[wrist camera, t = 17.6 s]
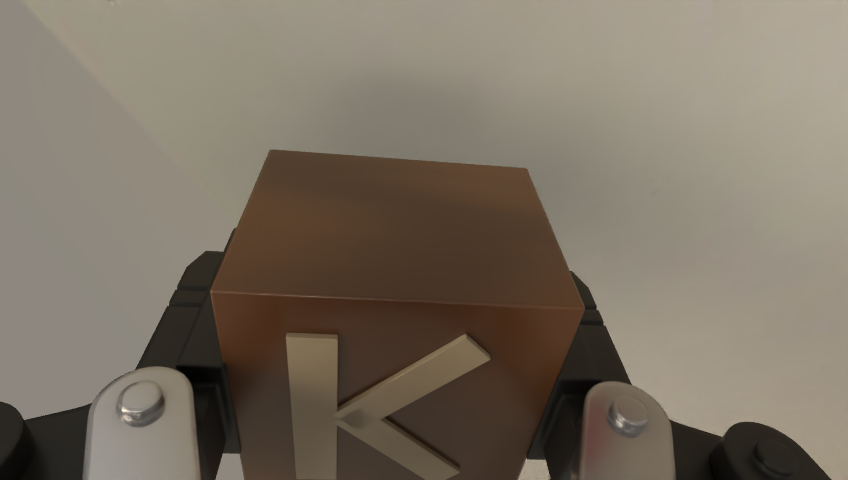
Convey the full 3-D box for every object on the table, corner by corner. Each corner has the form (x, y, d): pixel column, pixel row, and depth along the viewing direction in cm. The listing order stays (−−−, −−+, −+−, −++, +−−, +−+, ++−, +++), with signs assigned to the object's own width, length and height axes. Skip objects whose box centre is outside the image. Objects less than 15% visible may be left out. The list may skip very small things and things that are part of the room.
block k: (283, 333, 13) (244, 499, 9) (269, 148, 10) (205, 295, 7) (483, 341, 13) (513, 502, 10) (527, 167, 10) (589, 313, 7)
